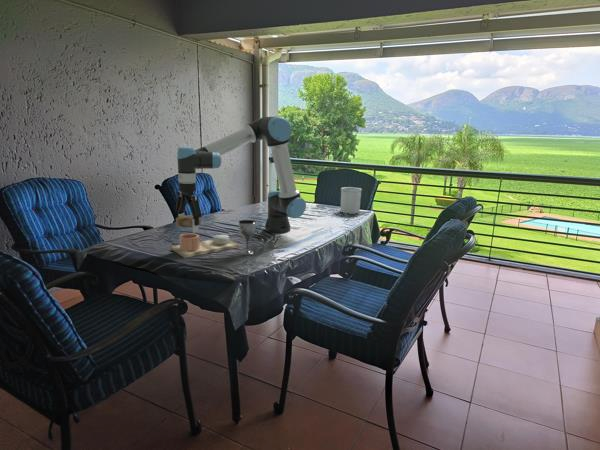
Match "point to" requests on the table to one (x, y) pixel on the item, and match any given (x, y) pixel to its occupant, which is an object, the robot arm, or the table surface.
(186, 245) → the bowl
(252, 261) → the table surface
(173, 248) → the serving board
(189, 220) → the lid
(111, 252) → the table surface
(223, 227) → the table surface
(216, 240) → the light grey domed disc
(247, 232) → the wine glass
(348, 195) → the utensil holder
